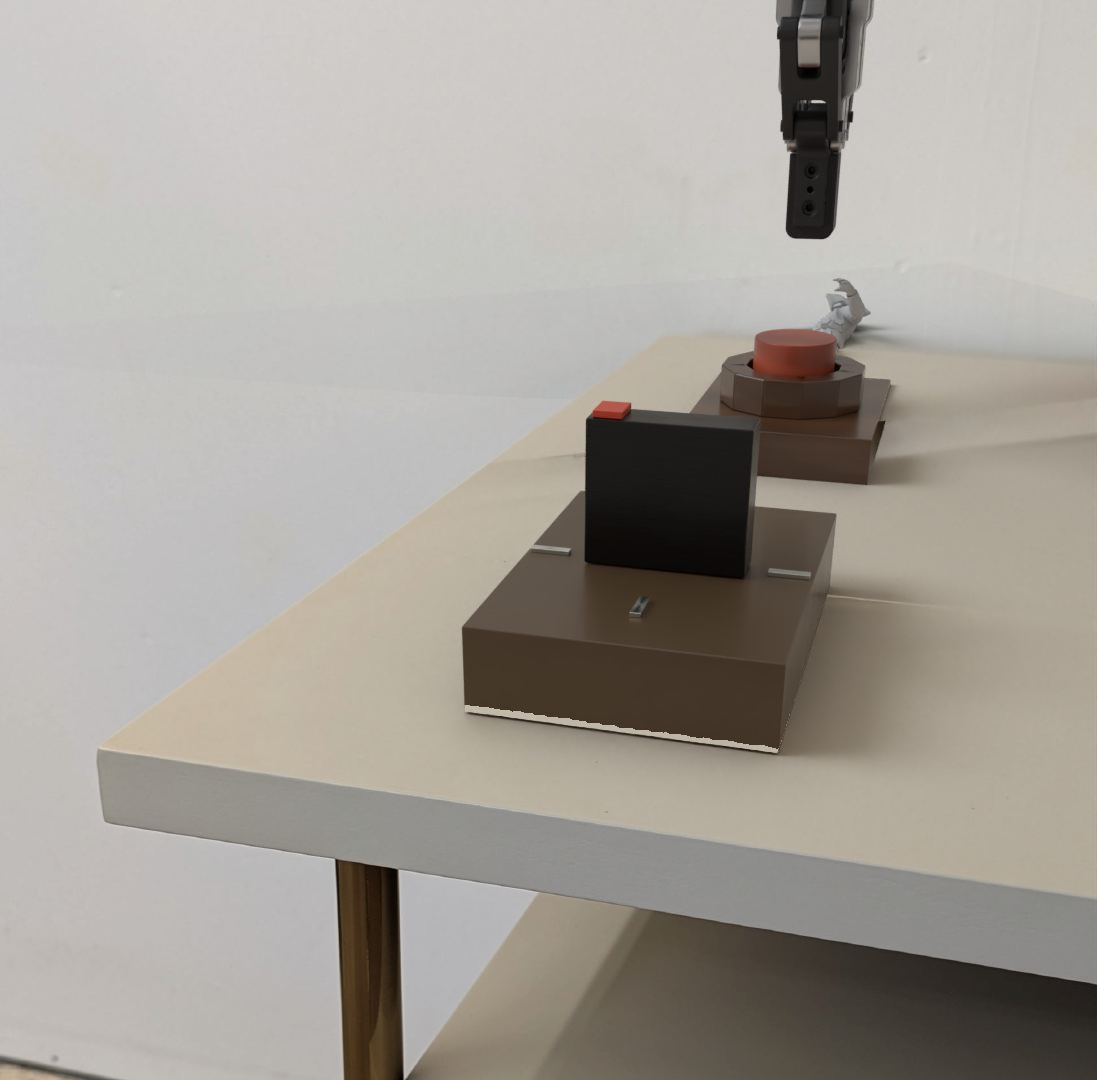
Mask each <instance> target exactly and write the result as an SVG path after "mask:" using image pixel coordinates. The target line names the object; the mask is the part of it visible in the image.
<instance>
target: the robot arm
mask: <svg viewBox="0 0 1097 1080" xmlns="http://www.w3.org/2000/svg"><path fill="white" fill-rule="evenodd" d="M775 1H776V2H775V21H776V24H777V28H776V40H778V42H779V43H778V45H779V64H778V82H777V83H778V84H777V88H778V92H779V94H780V96H781V97H780V99H781V100H780V103H781V120H780V126H779V132H780V133H782V141H783V143H784V145H785V144H786V153H789V165H788V183H787V196H786V213H785V232H786V234H787V236H788V237H789V238H791V239H795V240H798V239H799V240H826V239H828V238H829V237H830V236H831V235H832V234H833V232H835V231H834V230H835V229H836V227H837V216H838V215H837V214H838V205H839V204H838V203H839V191H840V190H839V188H840V175H841V165H842V164H841V163H842V150H845V147H846V142H849V138H850V128H851V127H850V125H851V124H852V123H853V122H854V111H853V104H854V97H855V93H856V92H858V91H859V90H860V88H861V87H862V82H863V72H864V71H863V70H864V60H865V49H866V38H867V37H866V35H867V27H868V26H869V24H871V22H872V21H873V18H874V8H875V0H775ZM812 101H822V102H812Z"/></svg>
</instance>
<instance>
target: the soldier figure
mask: <svg viewBox="0 0 1097 1080" xmlns="http://www.w3.org/2000/svg"><path fill="white" fill-rule="evenodd" d="M832 281H833V282H837V283H838V287H837V288H835V289H834V290H833V291H834V292H841V293H846V295H845V296H846V297H845V296H843V295H841V294H838V293H826V294H825V297H826V300H827V303H828V305H829V311H830V312H828V313H827V314H826V315H825V316H823V317H822V318H820V319H819V321H818V322H817V323H816V324H815V325H814V326H813V328H812V330H815V331H821V332H825V333H828V334H831V335H833V336H835V337H836V338H837V346H836V353H838V352H839V349H841V350H843V349H845V346H844V345H845V342H846V341H848V340H851V336H852V335H853V333H854V332H855V330H856V328H857V327H858V325H859V324H860V323H861V322H862V320H863V318H865V317H868V316H870V315H871V312H872V311H871V310H869V309H868V308H866V306H865V303H864V302H863V300H862V297H861V296H860V294H859V291H858V289H856V288H855V287H854V285H853V284H852V283H851V282H850V281H849V280H848V279H845V278H842V277H838V278H833V279H832Z"/></svg>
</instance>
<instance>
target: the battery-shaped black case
mask: <svg viewBox="0 0 1097 1080" xmlns="http://www.w3.org/2000/svg"><path fill="white" fill-rule="evenodd" d="M760 426H761V420H760V419H759V418H748V417H734V416H721V415H707V414H693V413H690V412H677V411H663V410H651V409H638V408H637V409H636V408H632V402H629V401H614V400H602V401H600V403H598V404H597V405H596V406H595V407H594V408H593V409H592V412H591V413H590V414H589V415H588V416H587V417H586V418H585V448H584V449H585V455H584V457H585V459H584V460H585V461H584V462H585V463H584V491H585V541H584V561H585V562H588V563H597V564H607V565H617V566H627V567H637V568H647V569H656V570H666V571H676V572H686V573H696V574H706V575H716V576H725V577H735V578H744V576H745V574H746V572H747V569H748V567H749V565H750V563H751V556H752V541H753V527H754V513H755V506H756V496H757V484H758V483H757V481H758V476H757V469H758V455H759V440H760Z"/></svg>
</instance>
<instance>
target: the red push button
mask: <svg viewBox="0 0 1097 1080" xmlns="http://www.w3.org/2000/svg"><path fill="white" fill-rule="evenodd" d="M753 344H754V345H753V351H754V357H753V370H754V371H758V372H763V373H768V374H772V375H786V376H815V375H826V374H829V373H833V372H834V368H835V357H836V355H837V352H836V346H837V338H836V337H835V336H833V335H832V333H831V334H828V333H825V332H821V331H815V330H813V329H803V328H776V329H768V330H764V331H761V332H758V333H756V334H755V337H754V343H753Z"/></svg>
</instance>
